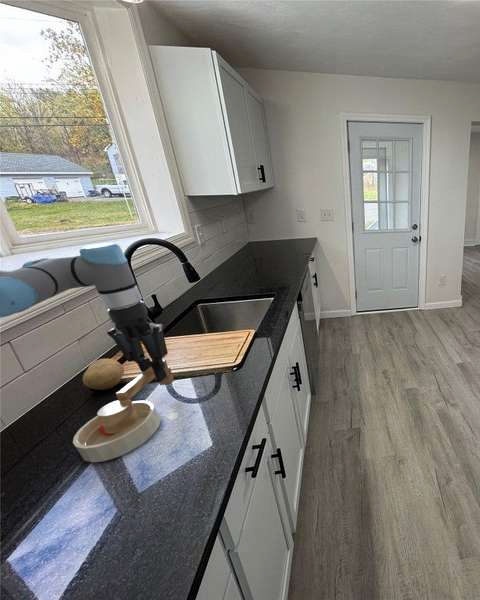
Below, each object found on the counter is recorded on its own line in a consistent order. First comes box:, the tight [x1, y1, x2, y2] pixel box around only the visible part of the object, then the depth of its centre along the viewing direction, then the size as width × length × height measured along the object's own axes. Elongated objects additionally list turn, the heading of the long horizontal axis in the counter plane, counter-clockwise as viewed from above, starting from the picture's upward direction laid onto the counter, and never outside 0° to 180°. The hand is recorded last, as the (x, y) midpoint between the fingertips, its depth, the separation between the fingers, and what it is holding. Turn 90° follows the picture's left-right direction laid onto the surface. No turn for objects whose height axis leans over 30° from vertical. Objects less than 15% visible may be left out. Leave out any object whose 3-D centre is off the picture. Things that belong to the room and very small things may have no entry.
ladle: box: [96, 359, 175, 433], centre depth 83 cm, size 22×6×7 cm, turn 4°
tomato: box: [100, 425, 113, 435], centre depth 80 cm, size 4×4×4 cm
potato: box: [82, 358, 125, 391], centre depth 99 cm, size 10×14×8 cm
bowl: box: [72, 400, 161, 463], centre depth 78 cm, size 16×16×5 cm
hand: (157, 379), depth 90 cm, fingers closed on ladle, 2 cm apart
